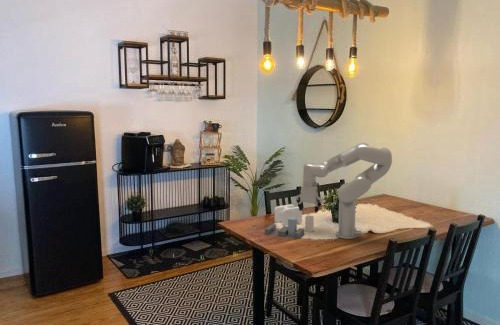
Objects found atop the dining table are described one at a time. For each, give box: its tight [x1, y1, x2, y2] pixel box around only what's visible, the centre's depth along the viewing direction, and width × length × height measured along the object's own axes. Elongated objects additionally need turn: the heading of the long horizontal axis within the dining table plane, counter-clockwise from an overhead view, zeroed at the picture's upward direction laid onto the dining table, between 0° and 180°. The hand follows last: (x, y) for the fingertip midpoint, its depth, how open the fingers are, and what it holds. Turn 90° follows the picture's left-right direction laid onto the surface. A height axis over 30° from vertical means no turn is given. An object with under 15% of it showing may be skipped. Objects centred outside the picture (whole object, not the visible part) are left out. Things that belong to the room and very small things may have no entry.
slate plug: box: [287, 217, 298, 236], centre depth 232 cm, size 4×4×10 cm
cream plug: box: [304, 214, 315, 233], centre depth 239 cm, size 4×4×10 cm
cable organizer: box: [274, 203, 303, 226], centre depth 256 cm, size 15×11×12 cm
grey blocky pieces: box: [263, 224, 306, 240], centre depth 235 cm, size 23×10×4 cm, turn 64°
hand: (308, 211), depth 238 cm, fingers open, 9 cm apart
